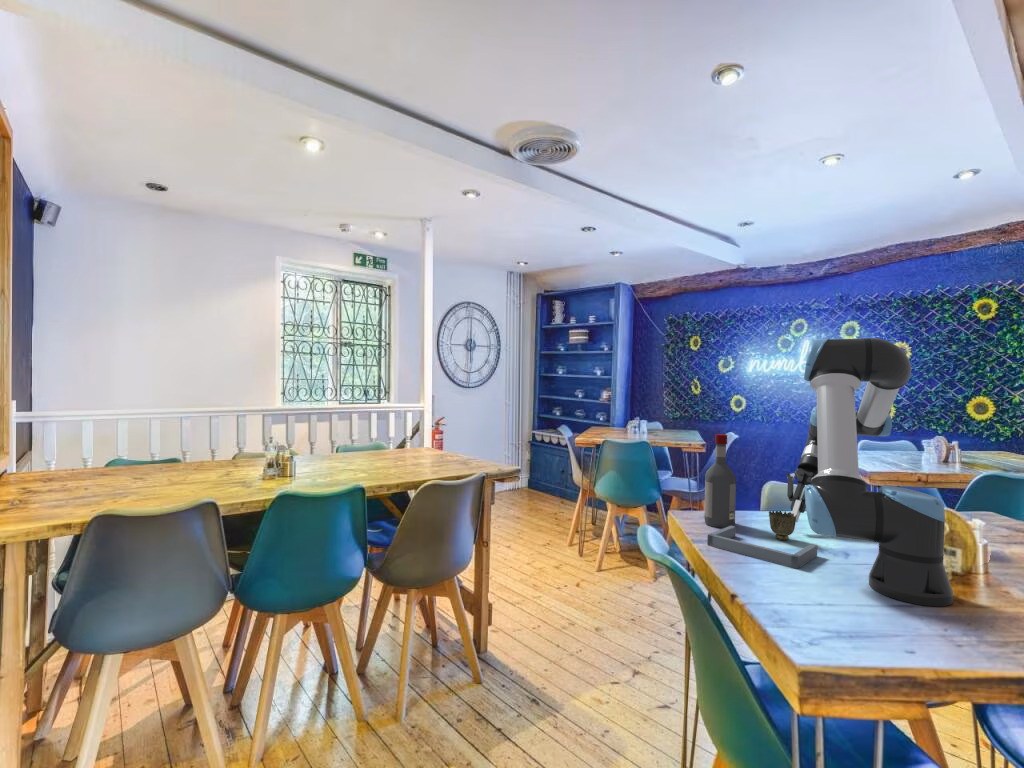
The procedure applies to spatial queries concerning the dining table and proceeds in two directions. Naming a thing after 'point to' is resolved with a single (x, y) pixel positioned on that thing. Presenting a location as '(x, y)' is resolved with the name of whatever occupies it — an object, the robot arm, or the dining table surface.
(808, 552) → the corral
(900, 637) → the dining table surface
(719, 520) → the liquor
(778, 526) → the cup
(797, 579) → the dining table surface
